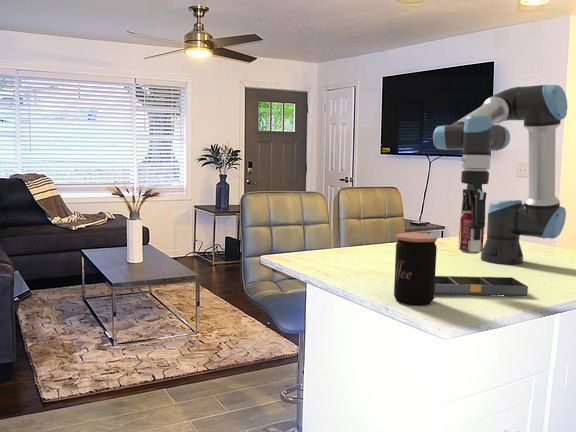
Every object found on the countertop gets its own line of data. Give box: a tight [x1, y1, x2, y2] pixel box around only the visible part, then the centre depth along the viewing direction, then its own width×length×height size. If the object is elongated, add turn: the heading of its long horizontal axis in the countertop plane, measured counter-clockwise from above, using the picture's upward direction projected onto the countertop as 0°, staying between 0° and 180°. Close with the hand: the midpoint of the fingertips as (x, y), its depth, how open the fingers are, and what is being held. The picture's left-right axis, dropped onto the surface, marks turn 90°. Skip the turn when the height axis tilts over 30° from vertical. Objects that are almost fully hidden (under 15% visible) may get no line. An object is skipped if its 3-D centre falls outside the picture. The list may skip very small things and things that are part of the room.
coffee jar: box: [393, 232, 438, 307], centre depth 150 cm, size 11×11×18 cm
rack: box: [434, 275, 529, 297], centre depth 163 cm, size 30×12×3 cm, turn 90°
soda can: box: [458, 211, 485, 255], centre depth 162 cm, size 7×7×12 cm
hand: (470, 248), depth 162 cm, fingers closed on soda can, 7 cm apart
